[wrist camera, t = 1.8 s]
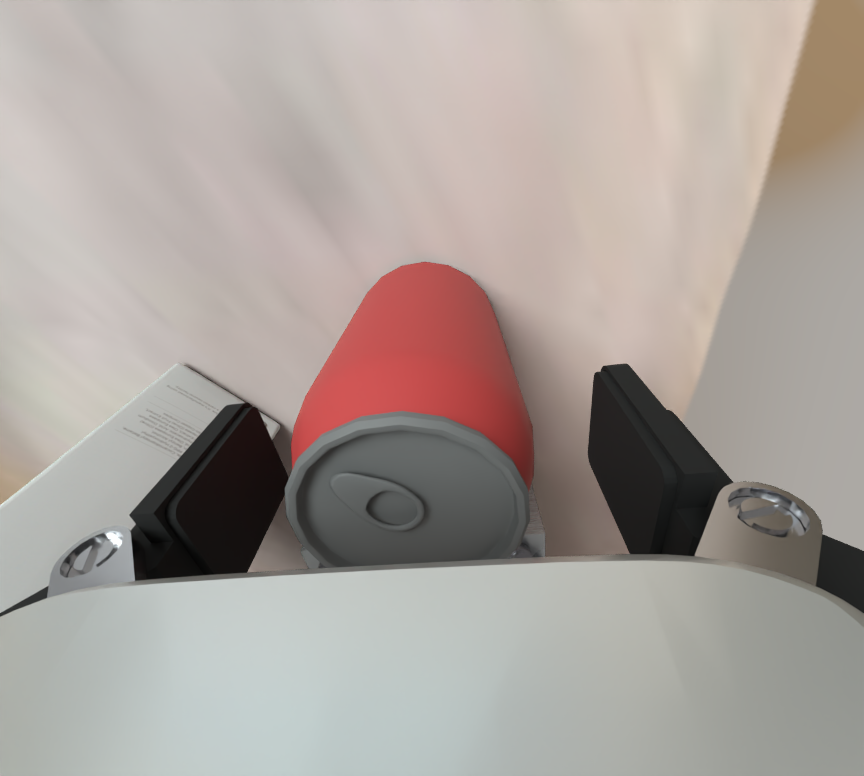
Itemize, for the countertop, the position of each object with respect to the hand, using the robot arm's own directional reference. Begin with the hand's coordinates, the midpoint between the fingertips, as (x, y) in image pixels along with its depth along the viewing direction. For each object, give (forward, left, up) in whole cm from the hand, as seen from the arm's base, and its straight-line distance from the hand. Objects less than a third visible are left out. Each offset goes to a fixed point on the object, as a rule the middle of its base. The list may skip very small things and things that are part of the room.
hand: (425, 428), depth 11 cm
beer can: (-1, 0, -9) cm, 9 cm away
